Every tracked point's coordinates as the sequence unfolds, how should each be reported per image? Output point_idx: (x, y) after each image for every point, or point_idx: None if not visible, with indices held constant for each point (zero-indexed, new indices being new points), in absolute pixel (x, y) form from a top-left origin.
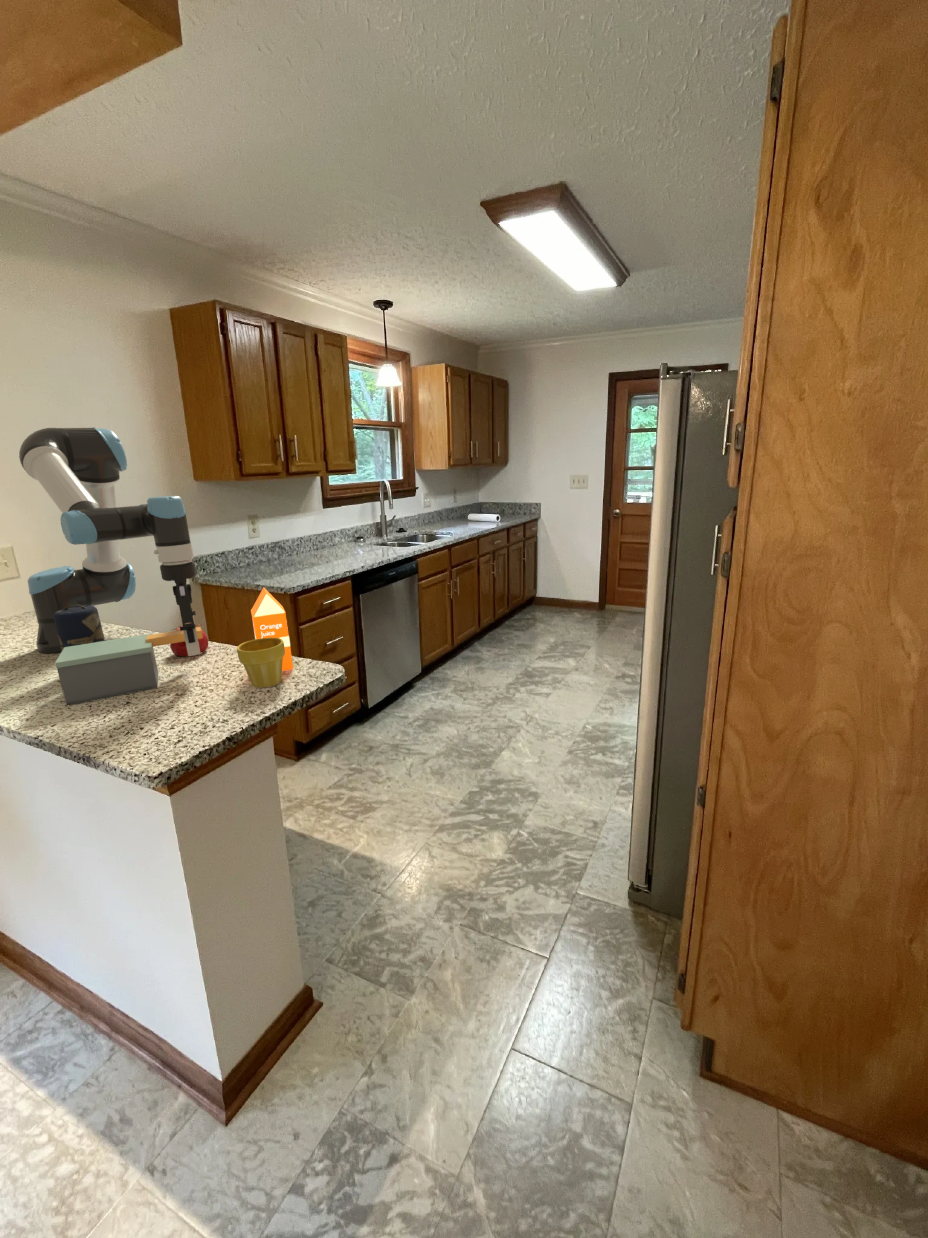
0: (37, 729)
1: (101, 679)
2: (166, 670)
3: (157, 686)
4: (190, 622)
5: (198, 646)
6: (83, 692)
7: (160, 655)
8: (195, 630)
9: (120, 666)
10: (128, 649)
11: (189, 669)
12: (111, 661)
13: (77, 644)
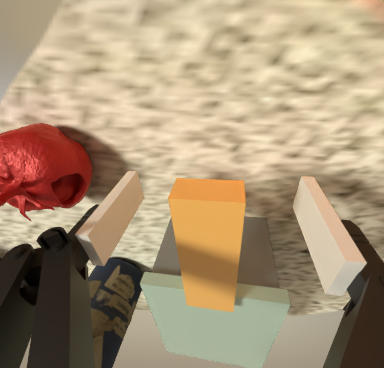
0: (313, 310)
1: None
2: (165, 200)
3: (263, 219)
4: (357, 307)
5: (322, 196)
6: None
7: None
8: (357, 253)
9: None
10: (268, 326)
11: (182, 166)
12: None
13: (126, 328)
